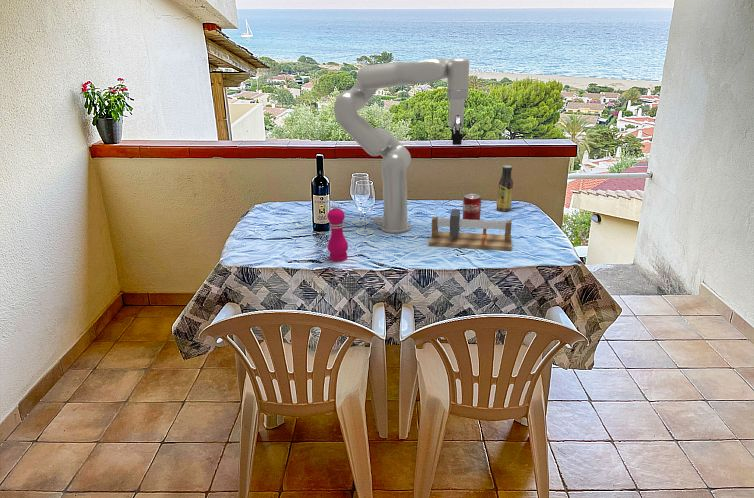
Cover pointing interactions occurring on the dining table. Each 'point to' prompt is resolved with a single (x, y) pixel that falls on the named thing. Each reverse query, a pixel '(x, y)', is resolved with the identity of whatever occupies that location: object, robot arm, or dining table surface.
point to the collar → (454, 222)
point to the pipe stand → (471, 239)
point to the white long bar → (474, 223)
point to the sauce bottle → (505, 189)
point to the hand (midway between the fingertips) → (456, 142)
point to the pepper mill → (337, 235)
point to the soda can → (471, 207)
